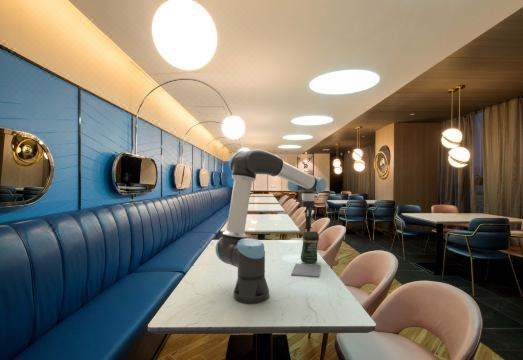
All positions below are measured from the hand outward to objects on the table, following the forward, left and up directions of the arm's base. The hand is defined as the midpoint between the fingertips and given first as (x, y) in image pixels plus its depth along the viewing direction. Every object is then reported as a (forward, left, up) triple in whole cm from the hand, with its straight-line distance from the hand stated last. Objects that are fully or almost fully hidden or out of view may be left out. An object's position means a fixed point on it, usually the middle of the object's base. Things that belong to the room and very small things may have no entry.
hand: (308, 239), depth 161 cm
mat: (-17, 0, -13) cm, 22 cm away
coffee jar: (-2, 0, -13) cm, 13 cm away
